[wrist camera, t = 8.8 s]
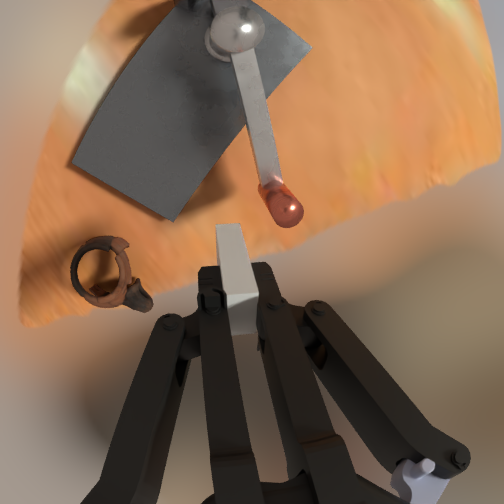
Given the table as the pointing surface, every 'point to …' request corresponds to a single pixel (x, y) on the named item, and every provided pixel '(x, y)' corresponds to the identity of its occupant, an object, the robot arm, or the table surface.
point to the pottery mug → (121, 294)
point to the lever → (253, 101)
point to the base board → (178, 108)
